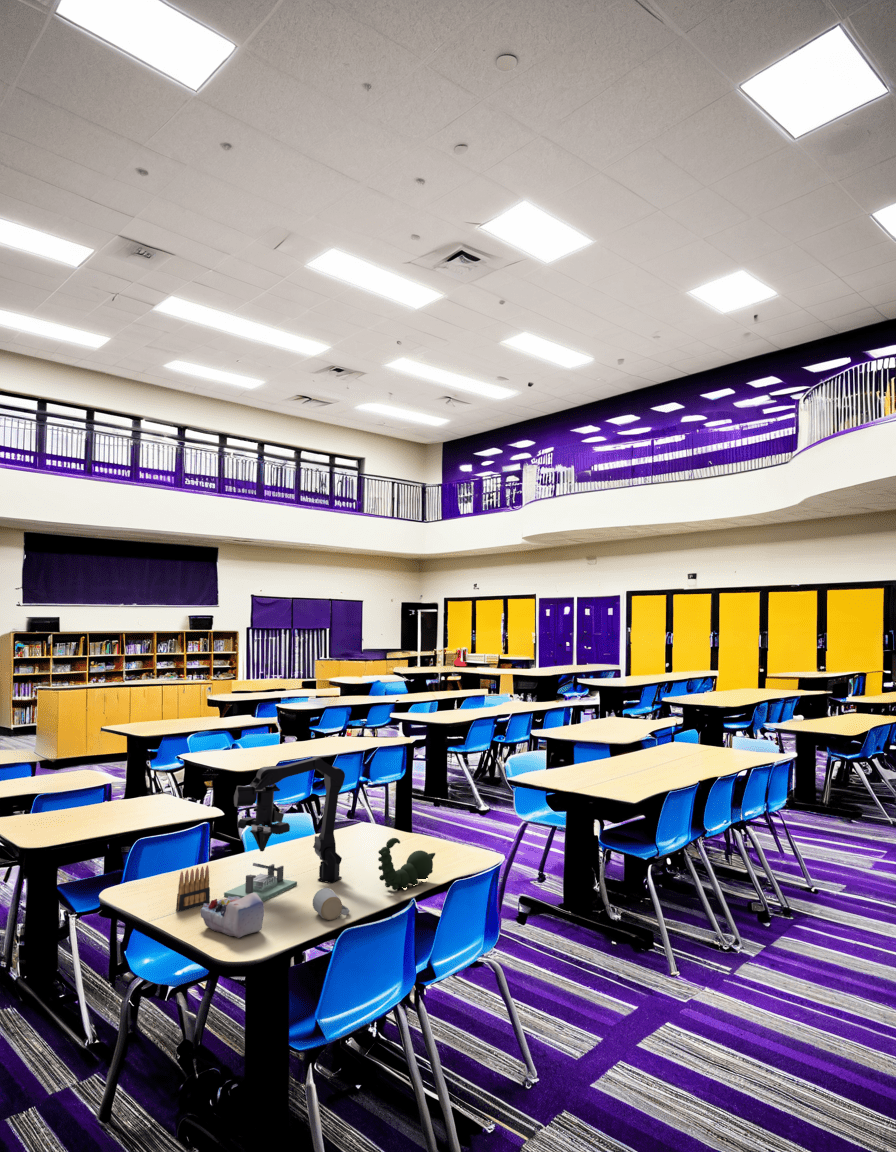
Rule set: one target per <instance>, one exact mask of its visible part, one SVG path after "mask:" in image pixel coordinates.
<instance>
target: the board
mask: <svg viewBox="0 0 896 1152" xmlns="http://www.w3.org/2000/svg"><path fill="white" fill-rule="evenodd" d="M295 885H296V886H298V881H295V880H290V879H285V878H283V881H281V882H279V883H278V882H277V885H276V886H274V887H272V888H269V889H267V890H265V891H263V892H260V891H255V890H253V893H257V894H258V896H259V897H260V899H261V900H262V902H263V903H264V902H265V901H267V900H269V899H271V898H273V897H275V896H277V895H279V894H281V893H284V892H286V891H287V889H288V890H289V888H290V889H292V888H294V887H296V886H295ZM293 886H294V887H293ZM245 887H246V882H245V883H243V884H241V885H238V886H236V887H234V888H231V889H229V890H226V891H224V892H223V896H224V897H226V898H228V897H229V896H230V897H235V896H238V897H240V898H243V897H245V896H246V895H248V894H251V893H246V892H245ZM283 891H284V892H283Z"/></svg>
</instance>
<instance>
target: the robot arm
mask: <svg viewBox="0 0 896 1152" xmlns="http://www.w3.org/2000/svg"><path fill="white" fill-rule="evenodd" d="M311 771H317V772H319V773H320V774H321V775H323V776H324V777H323V779H324V782H323V783H324V786H325V799H324V807H323V813H322V814H323V815H322V821H321V823H322V824H321V829H320V832H319V835H318V836H317V835H315V836H314V844H313V846H312V848H314V852H315V854H316V855H317V856H318V857H319V860H321V861H320V865H319V868H318V870H319V871H318V875H319V876H318V877H319V878H317V881H318V882H323V881H324V882H325V883H329V882H331V883H330V884H333V883H335V882H337V881H339V880H341V879H342V878H343V877H342V876H340V868H341V867H340V864H341V863H342V860H343V858H342V856H340V854H339V853H338V852H337V847H336V839H335V838H336V837H335V833H334V832H335V825H336V818H337V817H336V815H337V810H338V809H337V808H338V803H339V802H338V800H339V794H340V791H342V788H343V785H344V783H345V782H344V781H345V779H346V778H345V777H346V773H345V771H344V770H343V768H340V767H337V766H333V765H330V764H329V763H327V762H326V761H324V760H323V759H322V758H320V757H318V756H313V757H311V758H309V759H305V760H304V759H303V760H301V761H297V762H296V761H295V762H292V763H289V764H288V763H287V764H285V765H276V766H275V765H274V766H273V765H272V766H262V767H260V768H259V769H258V771H257V772H256V776H255V777H254V779H253V780H252V781H251V783H250V784H249V785H245V786H244V785H236V789H235V792H234V795H233V804H234V805H233V806H234V807H236V808H237V807H238V808H239V807H252V806H253V805H254V804H256V807H254V808H253V812H255V817H252V816H246V817H243V818H240V819H239V820H238V821H237V828H238V829H244V830H245V828H247V826H248V827H251V830H249V833H251V834H252V836H253V838H254V839H255V841H256V844H257V846H258V849H259V851H260V852H264V851H265V850H266V847H267V844H268V842H269V840H270V837H271V836H272V834H273V835H282V834H285V833H288V832H290V830H291V825H290V823H289V822H283V819H284V816H285V813H284V812H283V813H282V812H279V811H277V808H276V806H274V799H275V797H274V795H275V792H281V789H280V788H279V787H278V786H277V783H279V782H281V781H283V780H284V779H286V778H289V777H292V776H296V775H300V774H303V773H307V772H311ZM340 878H341V879H340ZM338 879H339V880H338ZM336 880H337V881H336ZM334 881H335V882H334Z"/></svg>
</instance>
